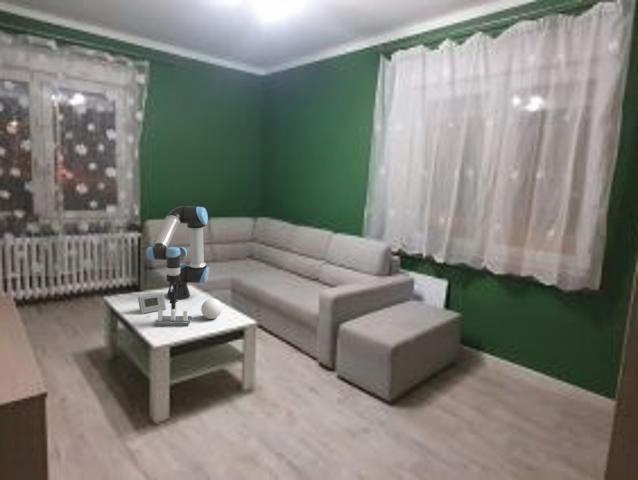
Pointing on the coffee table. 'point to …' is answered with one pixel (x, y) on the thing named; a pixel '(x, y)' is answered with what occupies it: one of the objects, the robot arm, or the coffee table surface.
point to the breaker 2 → (185, 315)
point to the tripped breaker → (173, 315)
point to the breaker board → (172, 322)
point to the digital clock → (151, 303)
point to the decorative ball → (211, 308)
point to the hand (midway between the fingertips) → (173, 313)
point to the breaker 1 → (160, 315)
